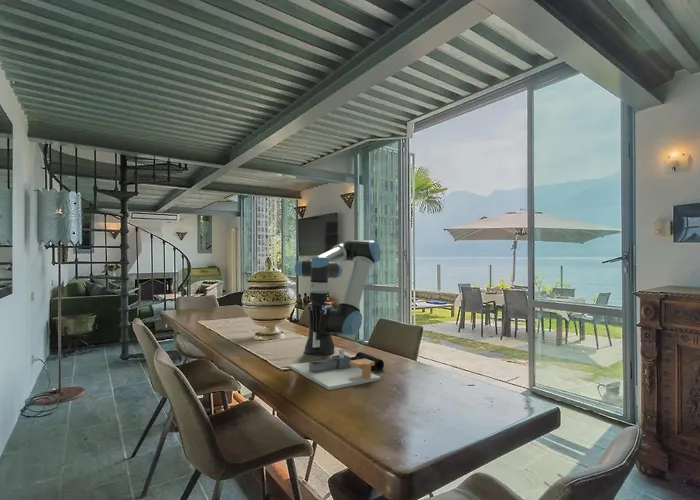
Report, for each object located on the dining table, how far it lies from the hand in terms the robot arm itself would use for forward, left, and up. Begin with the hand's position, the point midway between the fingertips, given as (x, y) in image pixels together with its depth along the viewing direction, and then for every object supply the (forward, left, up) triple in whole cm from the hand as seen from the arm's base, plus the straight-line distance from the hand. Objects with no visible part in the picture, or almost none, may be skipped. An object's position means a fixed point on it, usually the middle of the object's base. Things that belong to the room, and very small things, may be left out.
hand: (316, 346), depth 165 cm
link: (-3, +7, -8) cm, 11 cm away
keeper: (-8, +22, -9) cm, 26 cm away
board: (-2, +10, -9) cm, 14 cm away
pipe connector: (-20, +8, -10) cm, 23 cm away
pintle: (-8, +7, -9) cm, 14 cm away
